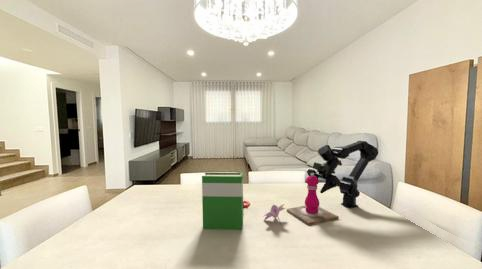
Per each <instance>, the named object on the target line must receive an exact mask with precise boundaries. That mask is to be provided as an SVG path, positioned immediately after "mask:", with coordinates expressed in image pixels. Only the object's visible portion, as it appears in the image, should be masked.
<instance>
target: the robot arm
mask: <svg viewBox="0 0 482 269" xmlns="http://www.w3.org/2000/svg"><path fill="white" fill-rule="evenodd" d="M357 151H359V155H360V157H359V159H358V161H357V162H356V164H355V166H354V167H353V168H352V170H351V172H350V173H349V175H348V176H343V177H342V179H339V177H337V175H335V174H336V169H337V168H338V166H342V165H343V162H342V160H340V159H343V160H344V159H346V158H348V157H349V156H350V154H352V153H354V152H357ZM317 153H318V155H319V156H320V157H321V158H322V159H323V161H325V163H324V162H323V163H320V162H313V166H312V169H311V168H309V169H308V170H307V171H306V173H307V176H308V177H309V176H311V173H314V176H315V177H317V178H318V179H321V180H325V181H324V184H323V186H322V187H321V189H320V191H319V192H320V194H323V193H325V192H326V191H329V190H331V189H333V188H337V187H338V188H339V191H340V194H343V195H342V202H341V203H340V204H341V205H342V206H345V207H347V208H348V209H351V208H356V207H359V205H358V204H357V198H358V197H360V194H361V193H360V191H359V189H358V180H359V179H360V177H361V176H362V174H363V172H364V170H366V168H367V166H368V164H369V162H372V161H374V160H375V159H376V157H378V155H379V149H378V148H377V147H375V146H374V145H372V144H370V143H369V142H368V141H366V140H357V141H355V142H353V143H350V144H348V145H343V146H334V147H333V148H331V146H330V145H329V144H325V145H324V146H322V147H320V148H319V149H318V151H317Z"/></svg>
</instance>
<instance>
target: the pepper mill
mask: <svg viewBox="0 0 482 269" xmlns="http://www.w3.org/2000/svg"><path fill="white" fill-rule="evenodd" d="M305 182H306V184H307V186H306V188H307V195H306V197H305V200H304V206H307V207H306V212H307V213H310V214H317V213H318V207H320V199H319V197H318V194H317V190H318V184H319V178H317V177H315V176H314V173H311V176H309V175H308V176H307V178H306V179H305Z"/></svg>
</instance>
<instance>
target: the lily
mask: <svg viewBox="0 0 482 269" xmlns="http://www.w3.org/2000/svg"><path fill="white" fill-rule="evenodd" d="M284 206H285V203H283V204H281V205H279V206H278V205H276V204H272V205H271V207H270V210H269V212H267V213H265V215H264V216H265V217H264V219H263V222H265V221H267V220H268V219H270V218H271V217H272V218H274V219H276V218H277V219H278V221H279V225H282V223H281V220H280V218H279V214H280V212H281V211H283V210H285V209H286V207H284Z"/></svg>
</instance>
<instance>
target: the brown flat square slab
mask: <svg viewBox="0 0 482 269" xmlns="http://www.w3.org/2000/svg"><path fill="white" fill-rule="evenodd" d="M306 207H307V206H306V205H302V206H296V207H290V208H286V212H287V213H288V214H290V215H292V216H293V217H295V218H296V219H298V220H299V221H301V222H302V223H304V224H306V225H307V226H312V225H316V224H321V223H322V224H323V223H326V222H330V221H335V220H339V219H340V218H339V217H340V216H338V215H336V214H334V213H332V212H331V211H329V210H327V209H326V208H325V209H324V208H323V207H320V206H319V207H318V213H317V214H310V213H307V212H306Z"/></svg>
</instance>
